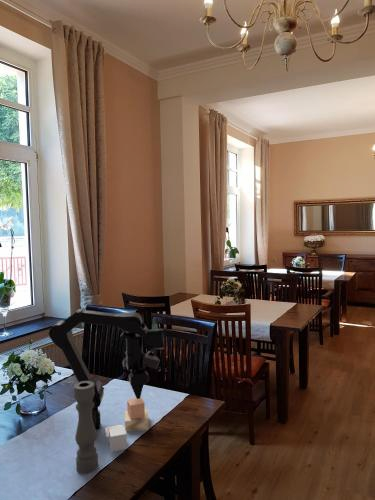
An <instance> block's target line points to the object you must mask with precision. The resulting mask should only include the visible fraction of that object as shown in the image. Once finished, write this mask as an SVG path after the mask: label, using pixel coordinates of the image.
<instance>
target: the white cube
mask: <svg viewBox="0 0 375 500" xmlns="http://www.w3.org/2000/svg"><path fill="white" fill-rule="evenodd" d="M127 436H128V435H127V432H126V430H125V425H122V426H121V427H115V428H110V429H109V437H108V440H109V441H108V445H109V448H110V449H109V450H110V452H111V453H112V452H118V451H123V450H126V449H128V441H127V439H128V438H127Z"/></svg>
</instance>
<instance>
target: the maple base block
mask: <svg viewBox="0 0 375 500" xmlns="http://www.w3.org/2000/svg"><path fill="white" fill-rule="evenodd" d="M149 421H150V420H149V410H148V408H147V407H145V417H141V418H136V419H130V417H129V415H128V411H127V409H124V427H125V430H126V433H127V432H135V431H144V430H149V429H150V425H149V423H150V422H149Z"/></svg>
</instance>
